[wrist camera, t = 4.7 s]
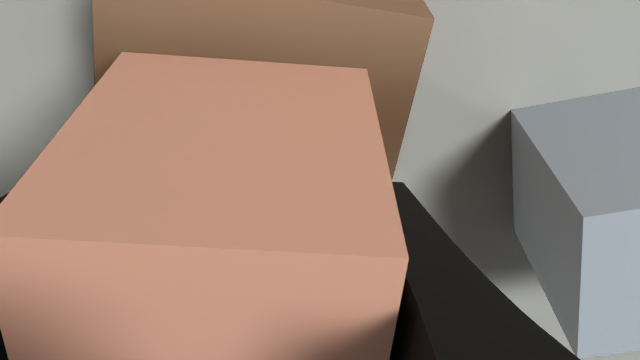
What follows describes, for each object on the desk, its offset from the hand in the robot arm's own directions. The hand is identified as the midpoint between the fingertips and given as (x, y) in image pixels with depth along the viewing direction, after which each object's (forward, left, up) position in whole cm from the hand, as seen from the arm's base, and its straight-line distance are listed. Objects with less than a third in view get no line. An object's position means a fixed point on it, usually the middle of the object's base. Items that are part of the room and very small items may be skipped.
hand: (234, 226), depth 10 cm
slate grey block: (-2, -9, -7) cm, 11 cm away
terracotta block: (0, 0, -2) cm, 2 cm away
